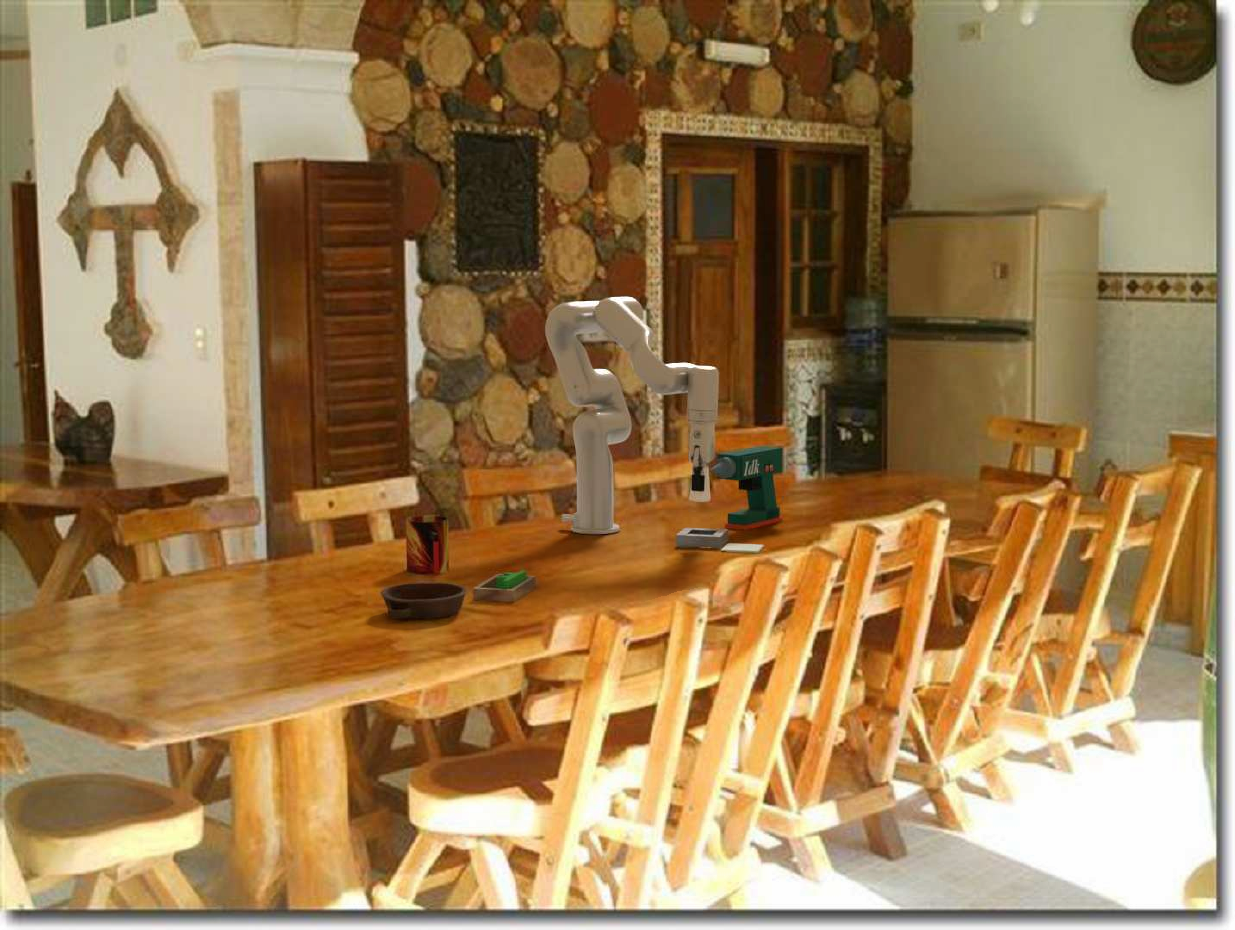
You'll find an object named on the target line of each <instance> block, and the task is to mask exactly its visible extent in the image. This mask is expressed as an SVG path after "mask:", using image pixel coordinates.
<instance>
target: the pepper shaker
mask: <svg viewBox="0 0 1235 930" xmlns="http://www.w3.org/2000/svg"><path fill="white" fill-rule="evenodd" d="M699 463H702V461H699ZM699 466H701V465H699ZM708 470H709V465H708V466H706V463H705V462H704V475H705V486H704V491H703V492H702V491H692V490H691V488H690V489H689V498H688V500H689V501H691V502H696V503H697V502H698V503H707V502H710V501H711V488H710V487H711V485H710V484H711V483H710V475H709V474H710V472H709V471H708ZM691 482H692V480H691ZM691 482H690V483H691Z"/></svg>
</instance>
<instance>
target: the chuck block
mask: <svg viewBox="0 0 1235 930" xmlns="http://www.w3.org/2000/svg"><path fill="white" fill-rule="evenodd" d="M727 541H728V542H729V528H725V529H721V528H700V527H699V528H698V527H684V528H683V529H682V530H681V531H679V532H678V533H677V534H675V547H676V548H687V547H711V548H720V547H721V548H723V547H724V546H725V545H726V544H727V543H728V542H727ZM726 542H727V543H726ZM725 543H726V544H725ZM724 544H725V545H724ZM723 545H724V546H723ZM721 548H720V549H721Z"/></svg>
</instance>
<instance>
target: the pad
mask: <svg viewBox="0 0 1235 930" xmlns="http://www.w3.org/2000/svg"><path fill="white" fill-rule="evenodd" d="M764 547H765V544H756V543H755V544H754V543H753V544H751V543H734V542H733V543H732V542H729V543H728V542H727V543H726V544H725V545H724V546H722V547H721V548H720V552H721V551H726V552H725V553H746V554H748V553H749V554H758V553H760V551H762V550H763V548H764Z"/></svg>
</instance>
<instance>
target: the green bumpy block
mask: <svg viewBox="0 0 1235 930" xmlns="http://www.w3.org/2000/svg"><path fill="white" fill-rule="evenodd" d="M503 574H504V576H497V577H496V586H497V589H512V588H513V587H515V586H517V585H518V584H520V583H521V582H523V581H524V580H526V579H527V575H528V574H527V570H520V571H518V572H504V573H503Z"/></svg>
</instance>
